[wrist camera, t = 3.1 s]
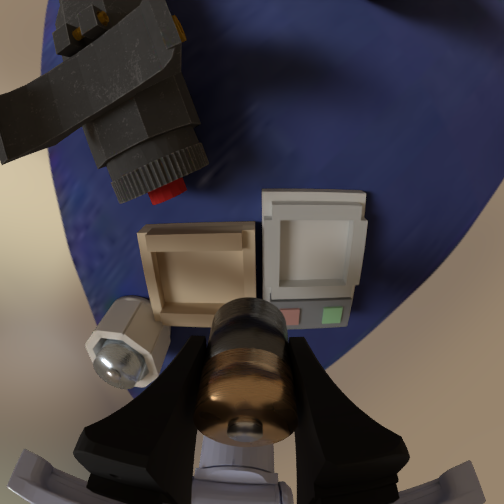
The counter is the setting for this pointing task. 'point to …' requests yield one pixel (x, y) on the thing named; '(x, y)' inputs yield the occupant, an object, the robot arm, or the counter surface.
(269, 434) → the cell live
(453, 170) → the counter surface
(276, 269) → the cradle
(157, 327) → the cup
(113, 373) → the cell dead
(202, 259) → the tan square tray
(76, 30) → the laser sight
